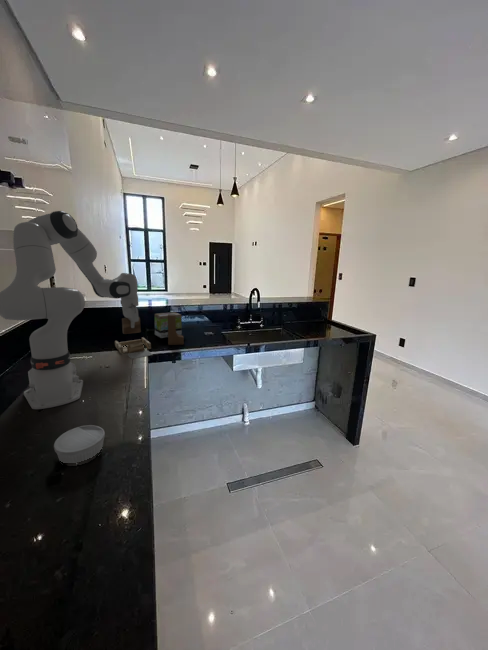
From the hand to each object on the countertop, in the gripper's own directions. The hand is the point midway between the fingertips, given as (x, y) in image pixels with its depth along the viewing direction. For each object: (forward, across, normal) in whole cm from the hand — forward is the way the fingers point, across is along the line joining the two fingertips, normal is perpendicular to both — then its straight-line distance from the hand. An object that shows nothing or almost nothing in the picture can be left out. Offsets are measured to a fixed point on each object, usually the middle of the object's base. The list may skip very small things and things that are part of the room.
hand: (131, 326), depth 152 cm
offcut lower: (+12, -8, 0) cm, 14 cm away
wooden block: (+12, -6, -24) cm, 27 cm away
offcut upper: (+9, -8, 0) cm, 12 cm away
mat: (+12, -16, 0) cm, 20 cm away
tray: (+12, -2, 0) cm, 12 cm away
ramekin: (+14, -83, +33) cm, 90 cm away
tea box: (+12, +14, -26) cm, 32 cm away
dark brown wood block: (+3, 0, 0) cm, 3 cm away
